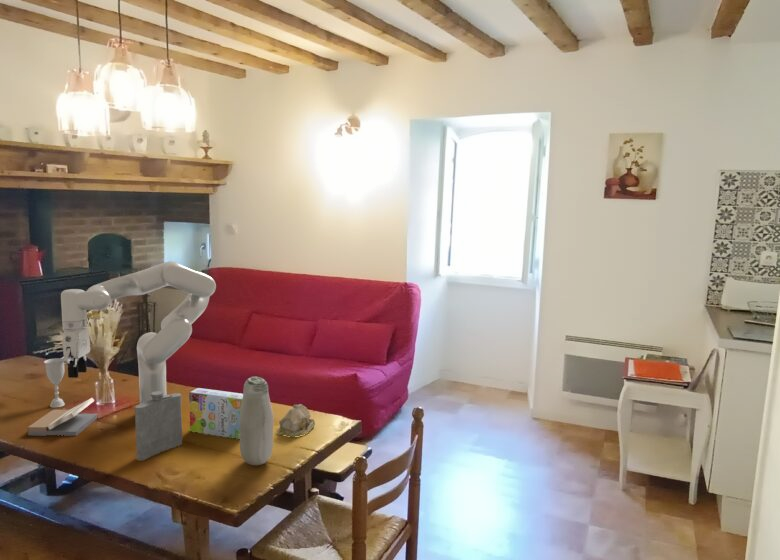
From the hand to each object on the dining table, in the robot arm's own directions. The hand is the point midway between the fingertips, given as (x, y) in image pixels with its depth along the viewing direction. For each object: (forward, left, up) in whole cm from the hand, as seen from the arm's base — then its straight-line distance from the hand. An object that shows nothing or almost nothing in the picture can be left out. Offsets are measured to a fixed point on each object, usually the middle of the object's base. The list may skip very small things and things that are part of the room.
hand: (77, 374), depth 196 cm
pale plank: (+2, 0, -15) cm, 15 cm away
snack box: (-50, +5, -20) cm, 54 cm away
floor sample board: (+6, 0, -19) cm, 20 cm away
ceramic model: (-77, +2, -20) cm, 80 cm away
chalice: (+19, -20, -20) cm, 34 cm away
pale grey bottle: (-67, +27, -20) cm, 75 cm away
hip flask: (-34, +19, -20) cm, 44 cm away
